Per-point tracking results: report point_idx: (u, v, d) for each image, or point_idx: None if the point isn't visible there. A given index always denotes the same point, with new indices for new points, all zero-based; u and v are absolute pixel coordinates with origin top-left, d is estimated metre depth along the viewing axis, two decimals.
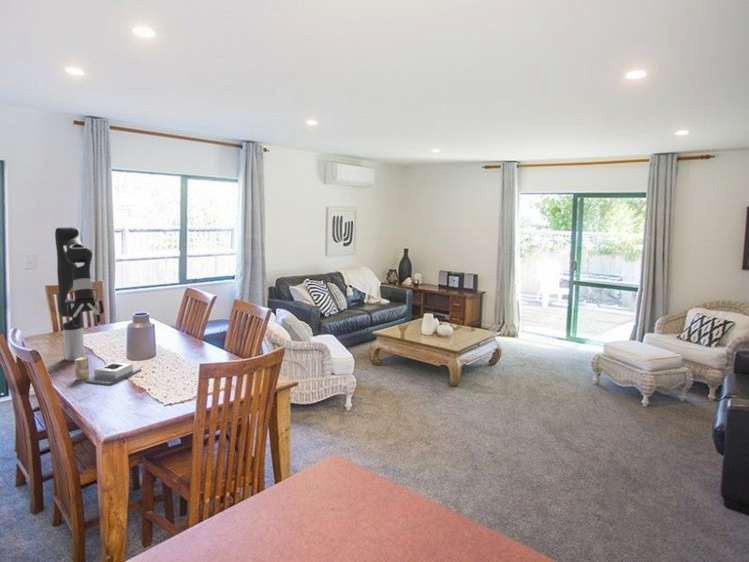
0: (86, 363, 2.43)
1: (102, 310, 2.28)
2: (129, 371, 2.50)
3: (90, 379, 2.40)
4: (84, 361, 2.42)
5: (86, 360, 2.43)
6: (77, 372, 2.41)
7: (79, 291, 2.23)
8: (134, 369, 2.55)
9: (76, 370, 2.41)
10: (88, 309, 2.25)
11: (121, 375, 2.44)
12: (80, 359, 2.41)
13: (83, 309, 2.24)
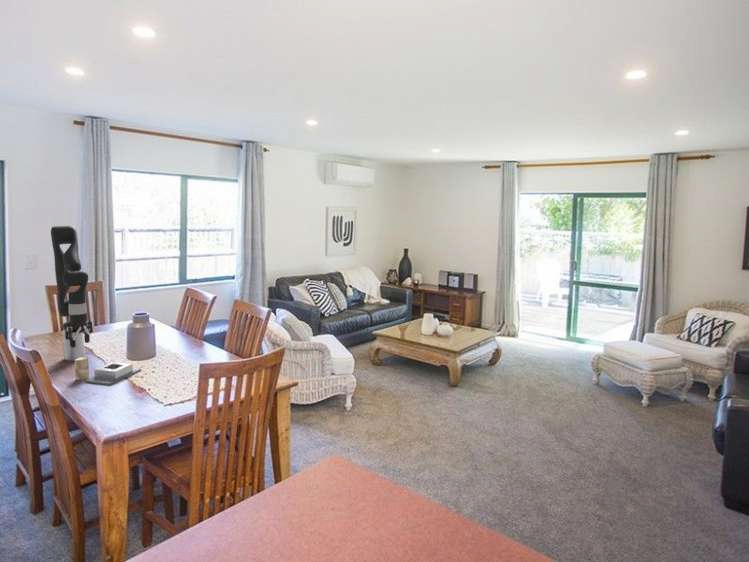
0: (86, 363, 2.43)
1: (92, 330, 2.46)
2: (129, 371, 2.50)
3: (90, 379, 2.40)
4: (84, 361, 2.42)
5: (86, 360, 2.43)
6: (77, 372, 2.41)
7: (80, 316, 2.36)
8: (134, 369, 2.55)
9: (76, 370, 2.41)
10: (82, 331, 2.41)
11: (121, 375, 2.44)
12: (80, 359, 2.41)
13: (79, 331, 2.39)
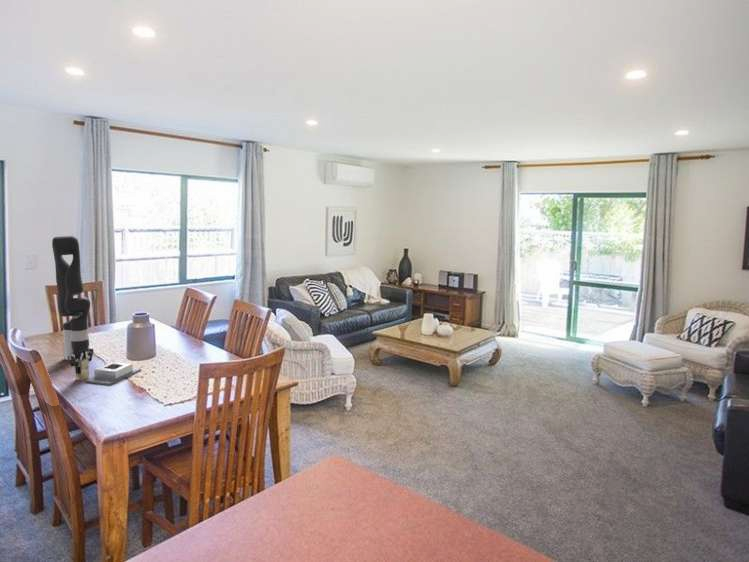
0: (86, 363, 2.43)
1: (90, 358, 2.47)
2: (129, 371, 2.50)
3: (90, 379, 2.40)
4: (84, 361, 2.42)
5: (86, 360, 2.43)
6: None
7: (82, 342, 2.38)
8: (134, 369, 2.55)
9: None
10: (83, 356, 2.42)
11: (121, 375, 2.44)
12: None
13: None
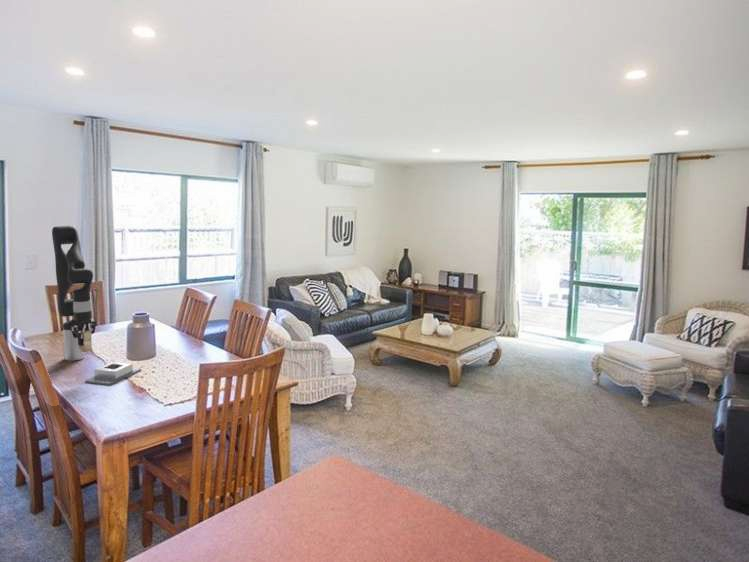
0: (89, 335, 2.41)
1: (93, 331, 2.45)
2: (129, 371, 2.50)
3: (90, 379, 2.40)
4: (87, 333, 2.40)
5: (89, 332, 2.41)
6: None
7: (85, 313, 2.36)
8: (134, 369, 2.55)
9: None
10: (86, 328, 2.40)
11: (121, 375, 2.44)
12: None
13: None
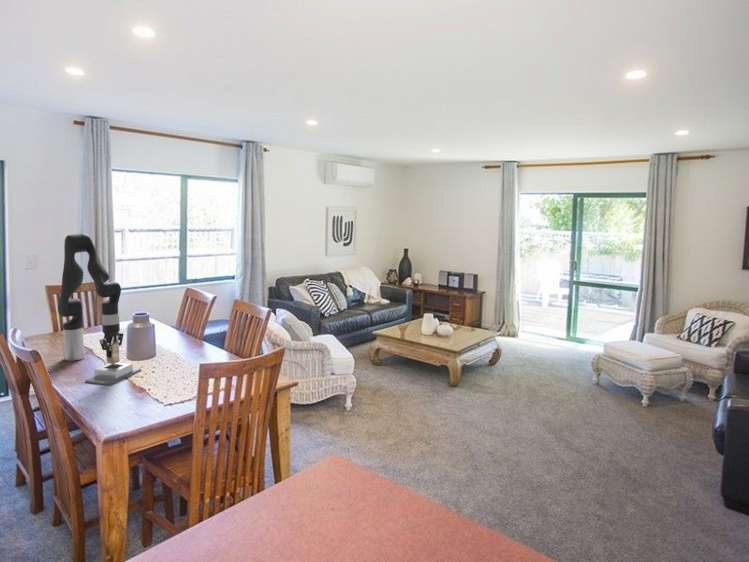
0: (117, 347, 2.46)
1: (120, 343, 2.50)
2: (129, 371, 2.50)
3: (90, 379, 2.40)
4: (115, 345, 2.45)
5: (117, 344, 2.46)
6: None
7: (113, 326, 2.41)
8: (134, 369, 2.55)
9: None
10: (114, 340, 2.45)
11: (121, 375, 2.44)
12: None
13: None
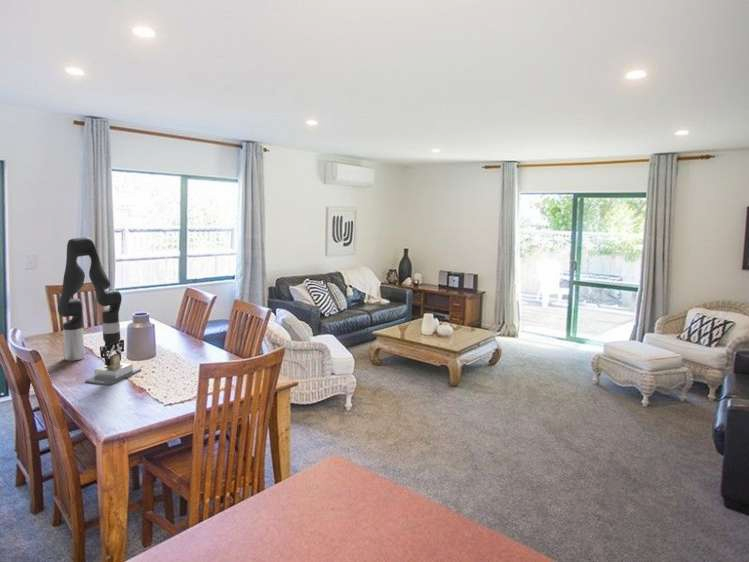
0: (118, 359, 2.47)
1: (123, 349, 2.51)
2: (129, 371, 2.50)
3: (90, 379, 2.40)
4: (116, 357, 2.46)
5: (118, 356, 2.47)
6: (109, 368, 2.46)
7: (114, 334, 2.42)
8: (134, 369, 2.55)
9: (108, 366, 2.46)
10: (115, 349, 2.46)
11: (121, 375, 2.44)
12: (112, 355, 2.46)
13: (113, 349, 2.45)
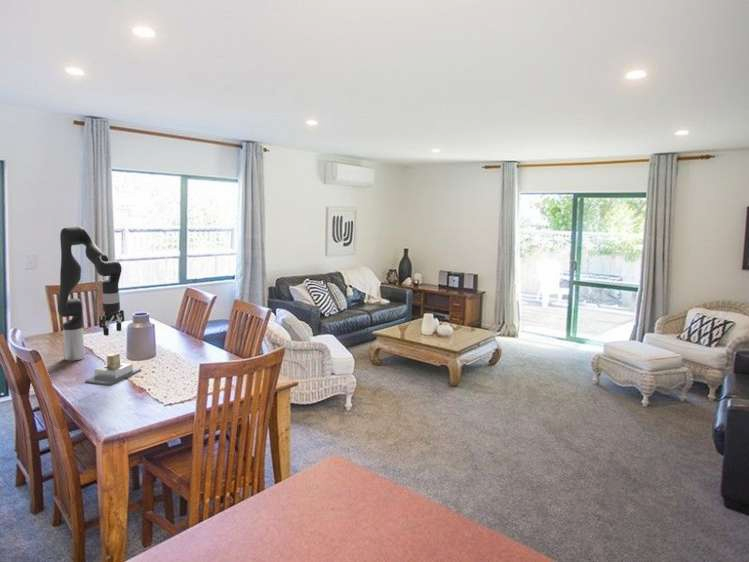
0: (118, 359, 2.47)
1: (123, 319, 2.53)
2: (129, 371, 2.50)
3: (90, 379, 2.40)
4: (116, 357, 2.46)
5: (118, 356, 2.47)
6: (109, 368, 2.46)
7: (113, 305, 2.43)
8: (134, 369, 2.55)
9: (108, 366, 2.46)
10: (115, 319, 2.47)
11: (121, 375, 2.44)
12: (112, 355, 2.46)
13: (112, 320, 2.46)
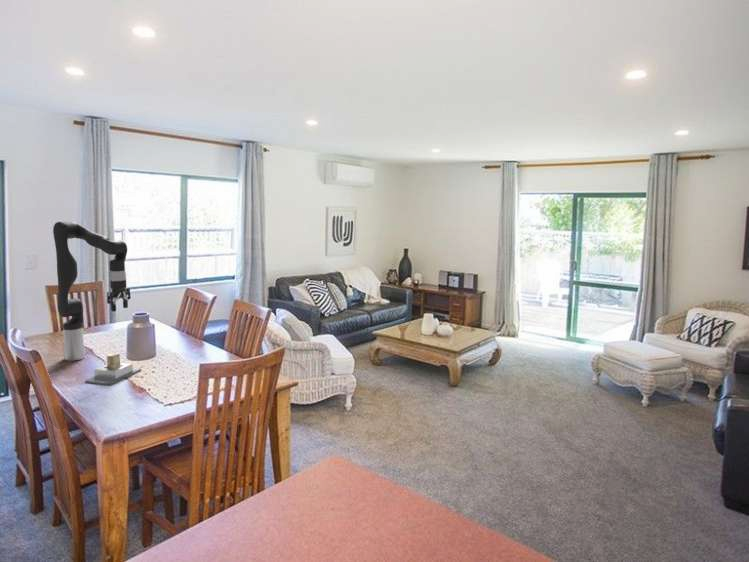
0: (118, 359, 2.47)
1: (129, 297, 2.66)
2: (129, 371, 2.50)
3: (90, 379, 2.40)
4: (116, 357, 2.46)
5: (118, 356, 2.47)
6: (109, 368, 2.46)
7: (120, 282, 2.55)
8: (134, 369, 2.55)
9: (108, 366, 2.46)
10: (122, 296, 2.60)
11: (121, 375, 2.44)
12: (112, 355, 2.46)
13: (119, 297, 2.58)
